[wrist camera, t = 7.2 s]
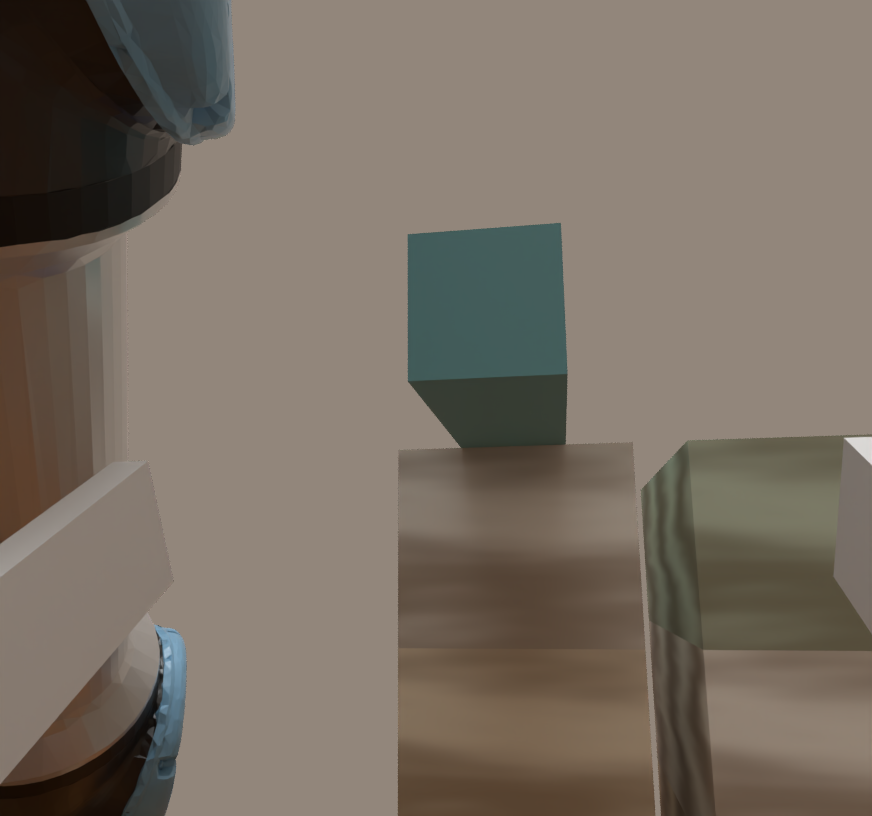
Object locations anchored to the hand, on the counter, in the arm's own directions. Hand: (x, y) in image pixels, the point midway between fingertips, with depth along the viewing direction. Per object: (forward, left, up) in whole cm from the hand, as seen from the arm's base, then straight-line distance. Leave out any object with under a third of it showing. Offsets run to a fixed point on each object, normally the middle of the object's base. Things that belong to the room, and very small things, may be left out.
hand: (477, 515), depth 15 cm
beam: (-14, +13, +4) cm, 19 cm away
